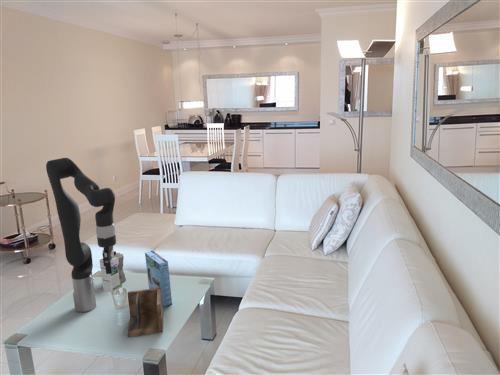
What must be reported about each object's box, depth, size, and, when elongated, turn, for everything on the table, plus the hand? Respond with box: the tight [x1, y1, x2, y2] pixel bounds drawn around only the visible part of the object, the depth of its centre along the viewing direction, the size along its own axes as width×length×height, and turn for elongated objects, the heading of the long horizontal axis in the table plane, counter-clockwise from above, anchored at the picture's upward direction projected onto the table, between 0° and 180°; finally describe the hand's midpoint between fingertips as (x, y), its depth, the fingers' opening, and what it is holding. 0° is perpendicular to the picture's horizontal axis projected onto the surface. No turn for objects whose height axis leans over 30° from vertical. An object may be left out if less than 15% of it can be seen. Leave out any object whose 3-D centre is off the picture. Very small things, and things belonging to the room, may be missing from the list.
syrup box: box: [99, 256, 123, 293], centre depth 174 cm, size 6×6×14 cm
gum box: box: [144, 250, 173, 308], centre depth 202 cm, size 20×5×23 cm, turn 35°
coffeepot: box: [114, 251, 127, 284], centre depth 223 cm, size 15×9×18 cm, turn 1°
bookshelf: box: [126, 288, 164, 338], centre depth 179 cm, size 15×16×14 cm
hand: (110, 269), depth 174 cm, fingers closed on syrup box, 8 cm apart
